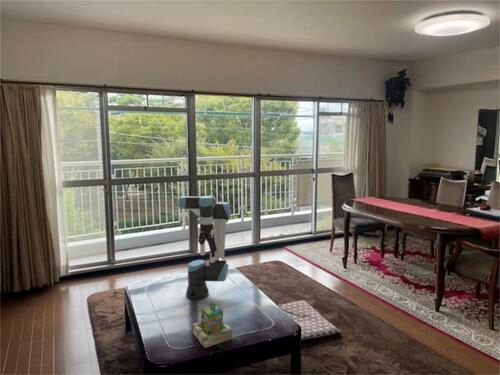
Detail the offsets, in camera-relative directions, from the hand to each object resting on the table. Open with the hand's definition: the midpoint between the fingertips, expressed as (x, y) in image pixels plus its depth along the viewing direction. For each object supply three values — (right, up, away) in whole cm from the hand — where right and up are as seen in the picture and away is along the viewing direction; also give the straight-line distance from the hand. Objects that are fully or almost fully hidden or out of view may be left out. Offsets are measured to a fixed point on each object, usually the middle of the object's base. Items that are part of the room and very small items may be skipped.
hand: (207, 258), depth 210 cm
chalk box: (+4, -36, -14) cm, 39 cm away
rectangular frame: (+4, -40, -13) cm, 42 cm away
